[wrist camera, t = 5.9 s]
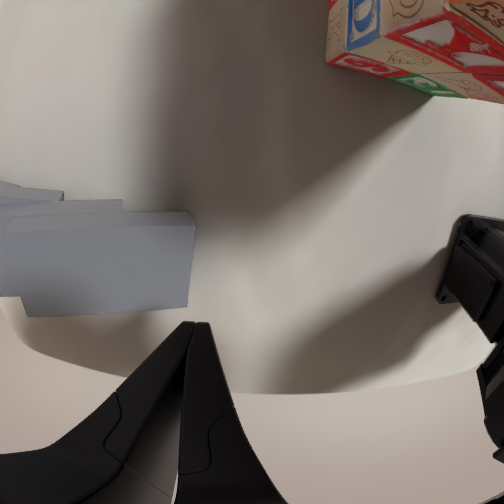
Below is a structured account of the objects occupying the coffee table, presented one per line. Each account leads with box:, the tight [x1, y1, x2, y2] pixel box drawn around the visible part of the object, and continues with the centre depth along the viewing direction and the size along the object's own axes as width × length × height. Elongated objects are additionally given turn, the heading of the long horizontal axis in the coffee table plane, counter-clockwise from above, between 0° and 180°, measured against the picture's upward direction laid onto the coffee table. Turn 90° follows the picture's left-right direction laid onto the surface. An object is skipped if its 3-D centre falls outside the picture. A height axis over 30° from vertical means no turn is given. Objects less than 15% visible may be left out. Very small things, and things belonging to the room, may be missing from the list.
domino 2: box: [0, 199, 122, 297], centre depth 11 cm, size 2×5×9 cm
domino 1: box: [4, 211, 196, 317], centre depth 12 cm, size 2×5×9 cm
